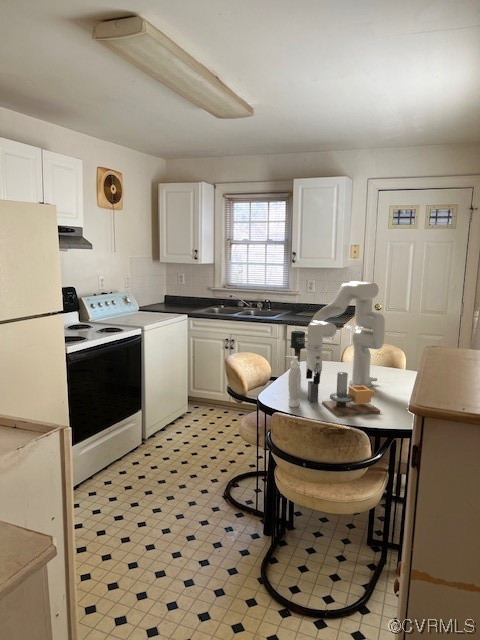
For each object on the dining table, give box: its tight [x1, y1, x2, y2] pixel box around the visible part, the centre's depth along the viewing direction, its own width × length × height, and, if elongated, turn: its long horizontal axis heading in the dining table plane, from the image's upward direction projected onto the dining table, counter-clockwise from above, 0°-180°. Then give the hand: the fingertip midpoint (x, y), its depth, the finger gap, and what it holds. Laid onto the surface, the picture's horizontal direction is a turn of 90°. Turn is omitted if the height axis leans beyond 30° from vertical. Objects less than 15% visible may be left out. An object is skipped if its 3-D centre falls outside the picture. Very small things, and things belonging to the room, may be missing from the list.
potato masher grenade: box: [289, 330, 306, 364], centre depth 270 cm, size 8×9×30 cm
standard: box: [329, 371, 353, 408], centre depth 228 cm, size 11×11×16 cm
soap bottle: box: [285, 355, 302, 408], centre depth 234 cm, size 13×8×24 cm, turn 159°
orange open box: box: [347, 385, 376, 403], centre depth 231 cm, size 12×8×6 cm
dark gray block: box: [307, 380, 320, 404], centre depth 240 cm, size 4×4×10 cm
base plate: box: [321, 400, 381, 418], centre depth 231 cm, size 22×18×2 cm
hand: (312, 381), depth 239 cm, fingers open, 9 cm apart
